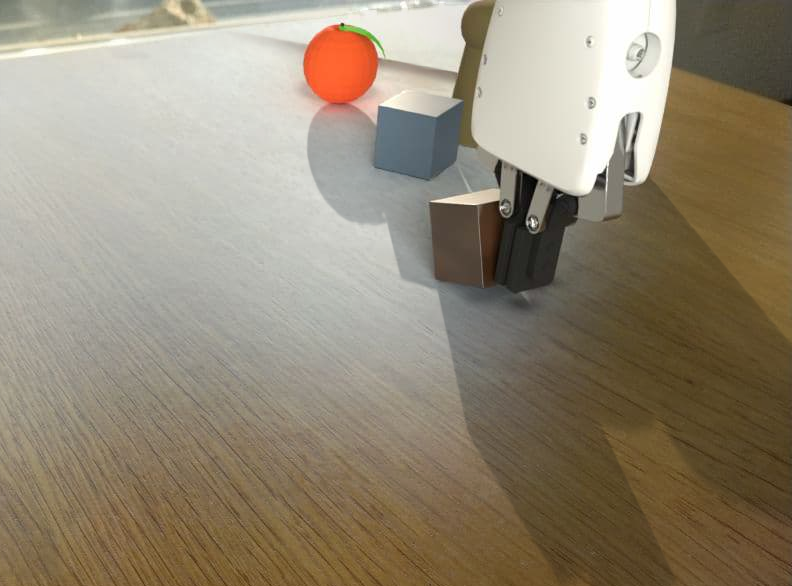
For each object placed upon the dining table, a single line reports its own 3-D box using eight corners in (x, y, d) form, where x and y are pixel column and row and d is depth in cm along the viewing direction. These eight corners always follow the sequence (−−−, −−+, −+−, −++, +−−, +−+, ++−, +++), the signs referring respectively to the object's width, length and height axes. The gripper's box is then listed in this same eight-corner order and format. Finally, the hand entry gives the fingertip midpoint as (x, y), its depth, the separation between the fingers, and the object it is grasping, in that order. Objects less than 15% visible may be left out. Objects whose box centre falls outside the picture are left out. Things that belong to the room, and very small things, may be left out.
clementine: (397, 99, 93) (404, 21, 89) (366, 120, 88) (372, 38, 84) (322, 86, 96) (326, 10, 92) (288, 105, 91) (290, 26, 87)
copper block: (549, 272, 60) (545, 190, 59) (482, 288, 59) (477, 204, 57) (497, 264, 65) (493, 188, 63) (434, 279, 63) (428, 201, 62)
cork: (457, 119, 88) (474, -11, 82) (522, 131, 86) (545, -2, 79) (431, 139, 84) (447, 4, 78) (499, 153, 82) (521, 14, 75)
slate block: (456, 161, 80) (464, 100, 77) (429, 180, 77) (436, 117, 74) (401, 148, 82) (407, 88, 79) (373, 166, 79) (377, 105, 76)
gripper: (771, -27, 44) (663, 328, 54) (548, -78, 55) (493, 225, 65) (649, -15, 41) (559, 357, 52) (439, -72, 52) (400, 245, 62)
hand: (523, 282), depth 58 cm, fingers closed
